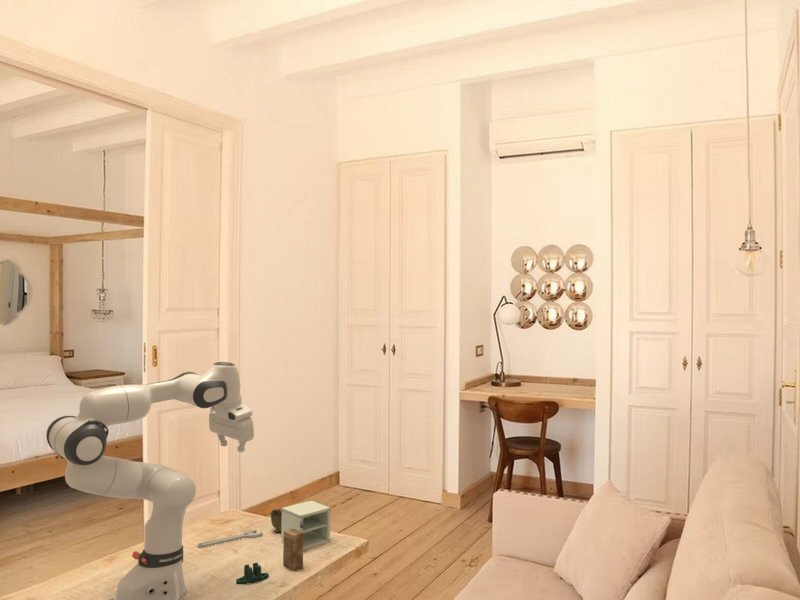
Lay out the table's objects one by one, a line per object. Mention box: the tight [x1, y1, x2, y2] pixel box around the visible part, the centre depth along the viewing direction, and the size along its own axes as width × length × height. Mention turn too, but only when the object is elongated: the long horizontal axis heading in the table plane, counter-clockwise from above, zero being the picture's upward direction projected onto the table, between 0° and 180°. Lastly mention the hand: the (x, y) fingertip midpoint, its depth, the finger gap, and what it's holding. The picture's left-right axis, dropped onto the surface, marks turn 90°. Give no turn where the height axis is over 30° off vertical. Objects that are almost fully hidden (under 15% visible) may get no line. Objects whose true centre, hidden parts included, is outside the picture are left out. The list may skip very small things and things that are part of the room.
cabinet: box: [280, 500, 331, 551], centre depth 246 cm, size 15×13×13 cm
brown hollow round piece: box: [270, 508, 282, 533], centre depth 258 cm, size 8×7×8 cm
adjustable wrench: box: [197, 529, 263, 549], centre depth 248 cm, size 25×6×2 cm, turn 122°
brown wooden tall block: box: [282, 529, 304, 572], centre depth 223 cm, size 4×6×12 cm
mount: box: [235, 562, 270, 585], centre depth 212 cm, size 11×4×5 cm, turn 123°
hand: (232, 448), depth 217 cm, fingers open, 8 cm apart
